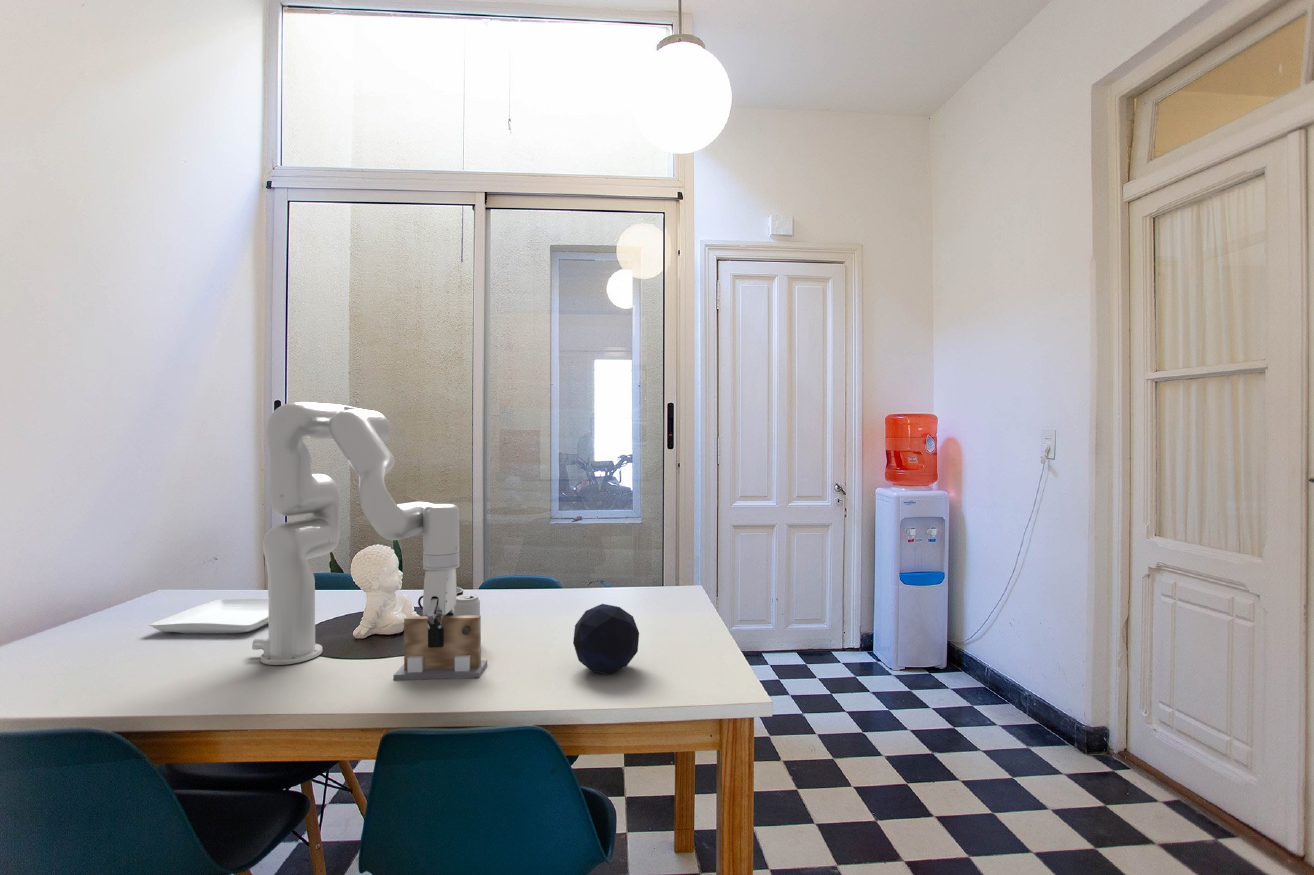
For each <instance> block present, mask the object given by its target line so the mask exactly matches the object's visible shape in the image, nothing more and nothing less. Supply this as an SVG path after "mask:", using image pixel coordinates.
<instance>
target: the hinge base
mask: <svg viewBox="0 0 1314 875" xmlns="http://www.w3.org/2000/svg"><path fill="white" fill-rule="evenodd" d="M487 666H488V659H481V665H480V667H479V668H470V655H463V656H456V657H455V669H423V656H413V657H408V658H407V669H405V670H404V664H402V666H400V668H399V669H397V671H396V672H395V673H394V674H393V676H392V677H393V681H395V680H396V681H398V680H401V681H402V680H435V679H437V680H439V679H440V680H441V679H442V680H443V679H445V678H446V679H447V678H448V679H478V678H477V677H479V678H480V677H481V676H482V674H483V673H484V671H485V669H486V667H487ZM475 677H476V678H475ZM448 679H447V680H448Z"/></svg>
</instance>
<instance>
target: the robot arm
mask: <svg viewBox="0 0 1314 875" xmlns="http://www.w3.org/2000/svg"><path fill="white" fill-rule="evenodd" d="M265 434H266V441H267V446H268V452H269V499H270V506H271V509H272V511H273V512H274V513H275V514H276V515H279V516H283V517H290V516H291V517H293V516H300V515H305V519H298V520H292V521H287V522H282V523H279V524H277V525H274V526H273V527H271V528H270V529H269V530H268V531H267V532H266V534H265V535H264V537H263V541H262V551H263V554H264V559H265V563H266V569H267V570H266V571H267V594H268V597H267V598H268V624H267V625H268V627H267V628H268V637H267V638H255V639H253V641H252V646H251V649H252V650H253V651H254V650H262V651H263V653H262V654H261V655H260V662H261V663H262V664H264V665H269V666H270V665H271V666H282V665H283V666H285V665H292V664H298V663H302V662H306V661H310V660H312V659H315V658H316V657H318V656H320V655H321V654H322V653H323V646H322V645H321V644H319V643H316V586H315V585H316V584H315V583H316V580H315V575H314V572H313V570H312V568H311V566H310V564H309V562H308V560H309V559H313V558H317V557H322V556H326V555H329V554H330V553H332V552H333V551H334V550H335V549H336V548H337V547H338V545H339V542H340V536H341V500H340V498H341V496H340V489H339V487H338V485H337V483H336V482H335V480H334V479H333V478H332V477H330V476H329V475H328V474H323V473H313V472H312V456H311V455H312V454H311V452H310V450H309V448H308V446H307V444H306V443H305V442H304V441H305V440H308V439H315V440H317V439H318V440H319V439H320V440H321V439H322V440H323V439H328V440H329V439H333V441H334V442H335V444H336V445H337V447H338V448H339V450H340V451H341V453H342V454H343V456H344V457H345V459H346V460H347V462H348V463H349V465H350V466H351V468H352V470H354V472H355V474H356V475H357V478H358V479H359V480H358V486H357V487H358V488H357V491H358V500H359V505H360V508H361V511H362V513H363V515H364V516H365V517H366V518H367V521H368V522H369V523H370V525H371V527H372V528H373V529H374V530H375V532H376V533H378V535H379V536H381V537H383V539H386V540H389V541H399V540H403V539H407V538H410V537H416V536H420V535H422V536H423V537H422V538H423V540H422V543H423V544H422V546H423V547H422V548H423V553H422V557H423V558H422V560H423V561H422V563H423V564H422V567H423V570H425V573H424V579H423V580H424V581H423V594H422V596H423V598H422V607H423V610H422V616H427V617H428V621H427V622H428V647H429V648H435V647H443V646H444V628H442V625H443V618H444V616H454V615H455V611H454V606H455V605H456V598H457V588H458V586H457V571H456V569H458V568H459V567H460V509H459V507H458V506H457V505H456V504H453V503H432V502H427V501H412V502H404V503H398V504H397V503H396V502H395V500H394V498H393V497H392V496H391V494H390V492H389V491H388V489H387V487H386V483H385V477H386V475H387V474H388V473H389V472H390V471H391V470H392V469H393V468H394V466H395V463H396V459H395V457H394V456H393V454H392V452H391V450H390V449H389V448H388V447H387V445H386V444H385V443H386V442H387V440H388V439H389V437H390V435H391V425H390V422H389V420H388V419H387V417H386V416H385V415H384V414H382V413H381V412H379V411H377V410H373V409H372V410H370V409H363V408H358V407H353V406H349V405H343V404H335V403H326V402H325V403H322V402H310V401H296V402H295V401H294V402H289V403H285V404H283V405H280V406H279V407H277V408H276V409H275V410H273V412H272V413H271V414H270V416H269V418H268V420H267V424H266V433H265ZM436 612H441V613H436ZM437 618H439V622H438V619H437Z"/></svg>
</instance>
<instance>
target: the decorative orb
mask: <svg viewBox="0 0 1314 875" xmlns="http://www.w3.org/2000/svg"><path fill="white" fill-rule="evenodd" d="M639 638H640V632H639V628H638V626H637V623H636V620H635V618H634V616H633V615H632V614H630V613H629V612H627V611H626V610H625V609H623V608H622V607H620V606H616V605H611V604H605V603H601V604H598V605H596V606H594V607H591V608H590V609H587V610H585V611H584V612H583V614H582V615H581V617H580V618H579V619H578V621H577V622H576V623H575V625H574V632H573V642H572V644H573V647H574V649H575V650H574V651H575V654H576V657H577V659H578V662H579V663H580V664H582V665H583V666H585V667H586V668H587V669H588V670H590V671H591V672H594V673H599V674H607V675H612V674H613V673H616V672H618V671H619V670H622V669H623V668H626V667H628V665H629V664H630V662H631V661H632V660H633V658H634V657H635V656H636V654H638V651H639V641H640V640H639Z"/></svg>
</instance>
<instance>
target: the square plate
mask: <svg viewBox="0 0 1314 875" xmlns="http://www.w3.org/2000/svg"><path fill="white" fill-rule="evenodd" d="M266 625H268V597H260V598H259V597H256V598H255V597H248V598H247V597H246V598H245V597H244V598H243V597H241V598H219V599H215V600H212V601H208V602H207V603H203V604H200V605H197V606H193V607H192V608H189V609H186V610H184V611H180V612H178V613H175V614H173V615H169V616H167V617H165V618H162V619H160V620H158V621H155V622H152V623H149V624H148V626H149V627H151V628H152V629H155V630H157V631H159V632H165V633H166V632H167V633H179V634H241V633H247V632H248V633H249V632H252V631H255V630H258V629H260V628H261V627H264V626H266Z"/></svg>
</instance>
